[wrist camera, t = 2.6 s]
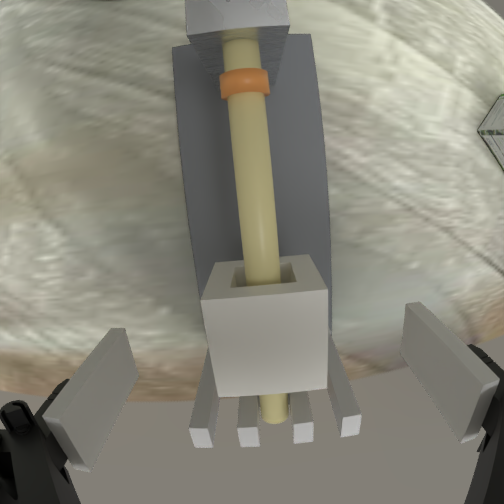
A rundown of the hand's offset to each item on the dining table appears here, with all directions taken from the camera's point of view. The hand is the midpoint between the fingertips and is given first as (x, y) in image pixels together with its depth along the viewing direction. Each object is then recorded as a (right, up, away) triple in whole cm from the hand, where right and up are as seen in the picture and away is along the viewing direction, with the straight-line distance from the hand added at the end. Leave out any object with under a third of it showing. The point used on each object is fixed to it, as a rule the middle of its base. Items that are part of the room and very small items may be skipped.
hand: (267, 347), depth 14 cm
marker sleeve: (0, +1, +4) cm, 4 cm away
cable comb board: (0, +8, +10) cm, 13 cm away
